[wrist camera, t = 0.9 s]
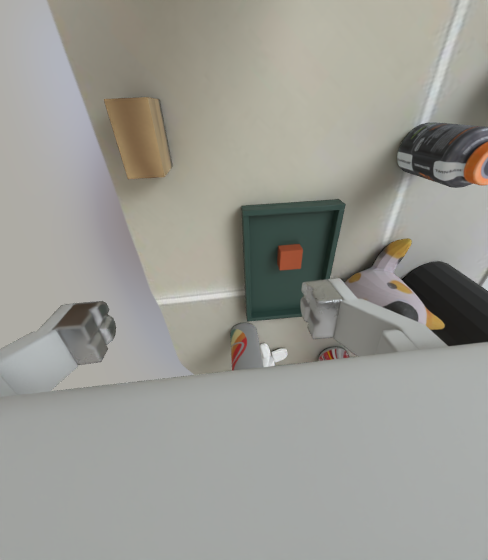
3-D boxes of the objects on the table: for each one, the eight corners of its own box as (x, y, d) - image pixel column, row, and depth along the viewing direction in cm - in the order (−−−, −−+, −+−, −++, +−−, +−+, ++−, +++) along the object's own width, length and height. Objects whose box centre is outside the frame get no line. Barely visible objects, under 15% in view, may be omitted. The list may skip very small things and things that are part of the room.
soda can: (319, 366, 60) (340, 420, 50) (314, 349, 56) (337, 405, 46) (346, 358, 60) (374, 412, 49) (344, 341, 56) (374, 395, 45)
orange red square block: (278, 245, 38) (280, 251, 37) (299, 243, 38) (303, 249, 37) (277, 264, 40) (279, 270, 39) (297, 262, 40) (300, 268, 39)
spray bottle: (224, 331, 50) (227, 438, 34) (245, 317, 48) (259, 423, 32) (242, 344, 53) (252, 448, 37) (262, 331, 51) (282, 435, 35)
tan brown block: (141, 168, 31) (127, 179, 26) (123, 100, 27) (103, 99, 22) (172, 166, 31) (164, 177, 26) (159, 99, 27) (147, 97, 22)
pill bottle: (391, 175, 34) (454, 200, 25) (401, 126, 31) (479, 134, 22) (432, 168, 34) (511, 190, 25) (447, 118, 31) (545, 123, 21)
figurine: (317, 315, 46) (379, 354, 32) (345, 228, 44) (424, 228, 30) (366, 324, 50) (441, 363, 36) (394, 244, 47) (486, 251, 33)
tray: (241, 205, 35) (242, 211, 33) (339, 199, 36) (345, 204, 34) (246, 313, 47) (247, 321, 46) (318, 306, 48) (322, 314, 46)
